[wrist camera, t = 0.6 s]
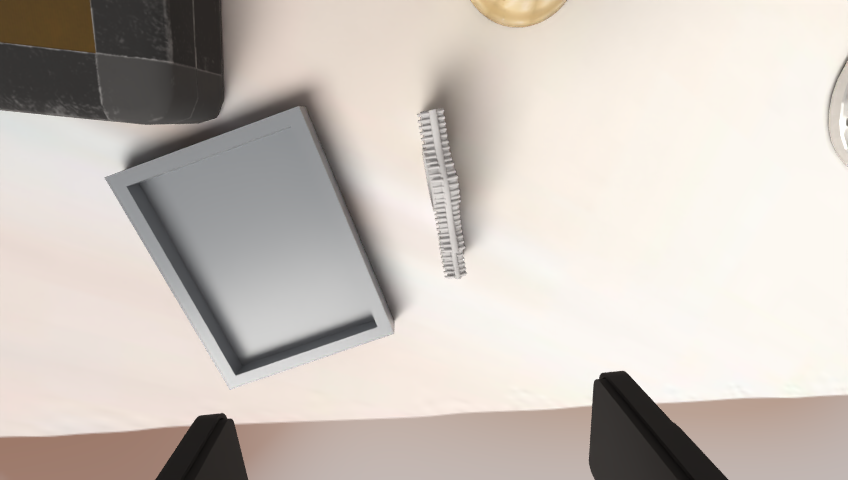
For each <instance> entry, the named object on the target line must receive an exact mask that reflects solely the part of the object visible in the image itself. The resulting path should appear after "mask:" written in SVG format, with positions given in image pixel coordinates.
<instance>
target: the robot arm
mask: <svg viewBox="0 0 848 480" xmlns="http://www.w3.org/2000/svg"><path fill="white" fill-rule="evenodd" d="M829 131H830V136H831V142H832V144H833V146H834V149H835V151H836V153H837V155H838V156H839V158H840V159H841V160H842V161H843V163H844V164H845V165H846V166H848V61H847V63H846V65H845V67H844V68H843V70H842V72H841V74H840V76H839V78H838V80H837V83H836V86H835V89H834V91H833V94H832V98H831V104H830V109H829ZM589 465H590V469H591V472H592V474H593V477H594V479H595V480H728V479H727V478H726V477H725V476H724V475H723V474H722V472H721V471H720V470H719V469H718V468H717V467H716V466H715V465H714V464H713V463H712V462H711V461H710V460H709V459H708V457H707V456H706V455H705V454H704V453H703V452H702V451H701V450H700V449H699V448H698V447H697V446H696V444H695V443H694V442H693V441H692V440H691V439H690V438H689V437H688V436H687V435H686V434H685V433H684V432H683V431H682V429H681V428H680V427H678V426H677V425H676V424H675V423H673V422H672V421H671V420H670V419H669V418H668V417H667V416H666V414H665V413H664V412H663V411H662V410H661V409H660V408H659V407H658V406H657V405H656V404H655V403H654V402H653V400H652V399H651V398H650V397H649V396H648V395H647V394H646V393H645V392H644V391H643V390H642V389H641V387H640V386H639V385H638V384H637V383H636V382H635V381H634V380H633V379H632V378H631V377H630V376H629V375H628V374H627V373H626V372H625V371H617V372H607V373H602V374H601V375H600V377H599V379H596V380H595V381H594V387H593V403H592V420H591V435H590V452H589ZM156 480H248V477H247V473H246V469H245V465H244V461H243V457H242V453H241V449H240V445H239V441H238V437H237V433H236V429H235V425H234V421H233V420H232V419H227V417H226V415H225V414H223V413H220V414H211V415H201V416H199V417H197V418H196V419H195V421H194V422H193V424H192V425H191V427H190V428H189V430H188V431H187V433H186V434H185V436H184V437H183V439H182V440H181V442H180V443H179V445H178V446H177V448H176V450H175V451H174V453H173V454H172V455H171V457H170V458H169V460H168V462H167V463H166V465H165V466H164V468H163V469H162V471H161V472H160V474H159V475H158V477H157V478H156Z"/></svg>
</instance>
